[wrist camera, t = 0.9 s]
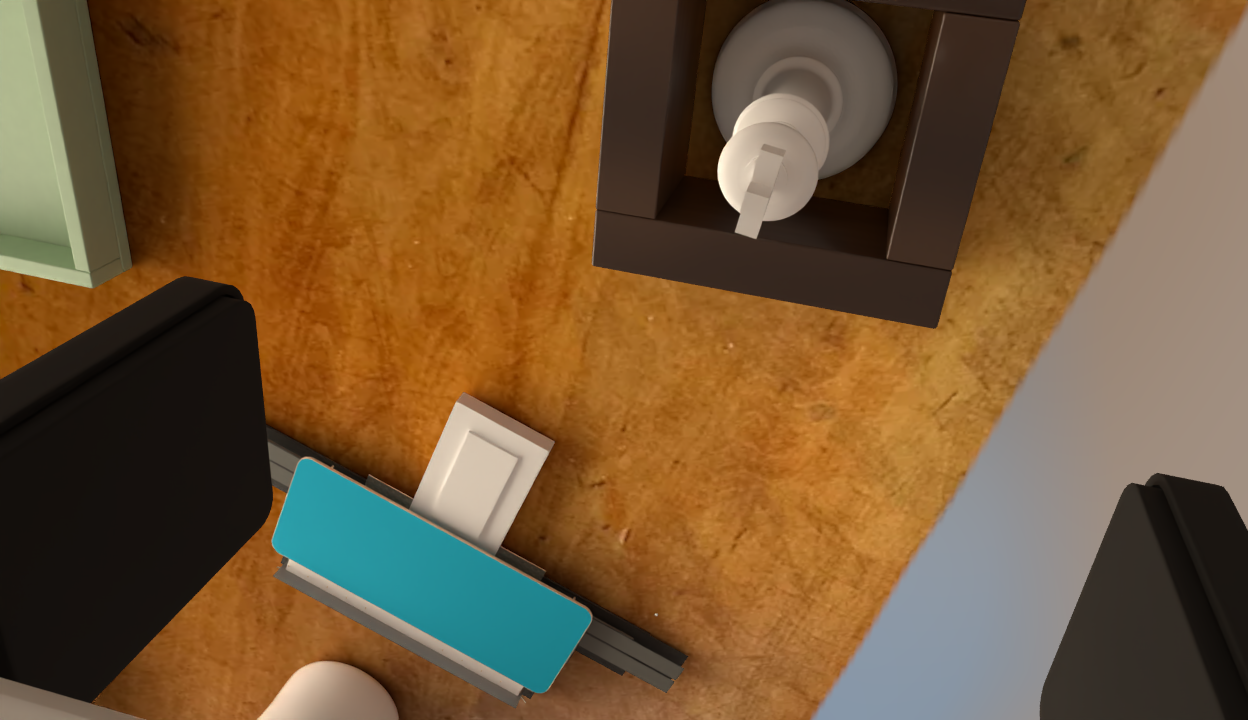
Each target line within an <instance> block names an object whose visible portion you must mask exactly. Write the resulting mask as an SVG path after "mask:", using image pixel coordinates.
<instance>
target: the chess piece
mask: <svg viewBox="0 0 1248 720" xmlns="http://www.w3.org/2000/svg"><path fill="white" fill-rule="evenodd" d="M897 84H898V81H897V69H896V63H895V59H894V56H893V52H892V50H891V47H890V45H889V43H888V41H887V39H886V37H885V35H884V34H883V32H882V31H881V29H880V28H879V27H878V25H877V24H876V23H875V22H874V21H873V20H872V19H871V18H870V17H869V16H868V15H867V14H866V13H865V12H863V11H862V10H861V9H859V8H858V7H856V6H855V5H853V4H851V3H850V2H847V1H845V0H770V1H767V2H765V3H764V4H762V5H760V6H758V7H757V8H755V9H754V10H752V11H751V12H750V13H748V14H747V15H746V16H745V17H744V18H743V19H742V20H741V21H740V22H739V23H738V24H737V25H736V26H735V27H734V28H733V30H732V31H731V32H730V34H729V35H728V37H727V38H726V40H725V42H724V43H723V45H722V47H721V50H720V52H719V54H718V57H717V60H716V63H715V67H714V72H713V80H712V106H713V112H714V116H715V119H716V122H717V125H718V128H719V130H720V132H721V134H722V136H723V138H724V139H725V141H726V143H727V144H726V145H725V147H724V149H723V151H722V153H721V156H720V159H719V163H718V181H719V185H720V188H721V191H722V193H723V195H724V197H725V198H726V200H727V201H728V202H729V204H730V205H731V206H732V207H733V208H734V209H736V210H737V211H738V212H739V213H740V217H739V220H738V223H737V226H736V229H735V233H739V234H742V235H745V236H748V237H751V238H754V239H756V238H757V236H758V233H759V230H760V227H761V224H762V221H776V220H781V219H784V218H787V217H789V216H791V215H793V214H795V213H796V212H798V211H799V210H801V209H802V208H803V207H804V206H805V205H806V204H807V202H808V201H809V200H810V198H811V197H812V195H813V193H814V191H815V188H816V185H817V181H818V180H820V179H824V178H827V177H830V176H833V175H836V174H838V173H840V172H842V171H844V170H846V169H847V168H849V167H851V166H852V165H854V164H855V163H856V162H858V161H859V160H860V159H861V158H862V157H864V156H865V155H866V154H867V153H868V152H869V151H870V149H871V148H872V147H873V146H874V145H875V143H876V142H877V141H878V140H879V138H880V137H881V135H882V134H883V132H884V130H885V129H886V127H887V125H888V123H889V120H890V118H891V115H892V113H893V110H894V106H895V102H896V96H897Z"/></svg>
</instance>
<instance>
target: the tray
mask: <svg viewBox="0 0 1248 720" xmlns="http://www.w3.org/2000/svg"><path fill="white" fill-rule="evenodd" d="M130 268H132V261H131V255H130V249H129V244H128V238H127V232H126V226H125V220H124V215H123V209H122V203H121V197H120V191H119V186H118V180H117V174H116V168H115V162H114V157H113V151H112V145H111V139H110V133H109V128H108V122H107V116H106V110H105V104H104V99H103V93H102V87H101V81H100V75H99V69H98V64H97V58H96V52H95V46H94V40H93V35H92V29H91V23H90V17H89V11H88V6H87V0H0V269H3V270H7V271H12V272H17V273H22V274H27V275H31V276H36V277H41V278H46V279H51V280H55V281H60V282H65V283H70V284H75V285H79V286H84V287H89V288H95V287H97V286H99V285H101V284H102V283H104V282H106V281H108V280H110V279H112V278H113V277H115V276H117V275H119V274H121V273H122V272H125V271H126V270H128V269H130Z"/></svg>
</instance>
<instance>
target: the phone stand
mask: <svg viewBox="0 0 1248 720" xmlns="http://www.w3.org/2000/svg"><path fill="white" fill-rule="evenodd" d="M266 430H267V440H268V450H269V460H270V470H271V480H272V485H273V486H274V487H276V488H278V489H280V490H282V491H284V492H285V493H287V496H286V499H285V502H284V505H283V508H282V511H281V514H280V516H279V519H278V522H277V525H276V528H275V531H274V534H273V537H272V545H273V547H274V549H275V550H276V551H277V552H278V553H279V554H281V555H283V558H282V561H281V563H282V564H283V565H282V566H281V567H277V568H280V569H279V570H278V571H277V572H276V573H275V575H274V577H275V578H277V579H279V580H281V581H283V582H285V583H286V584H288V585H290V586H292V587H294V588H296V589H297V590H299V591H301V592H303V593H305V594H307V595H308V596H310V597H312V598H314V599H316V600H318V601H319V602H321V603H323V604H325V605H327V606H329V607H330V608H332V609H334V610H336V611H338V612H340V613H341V614H343V615H345V616H347V617H349V618H351V619H352V620H354V621H356V622H358V623H360V624H362V625H363V626H365V627H367V628H369V629H371V630H373V631H375V632H376V633H378V634H380V635H382V636H384V637H386V638H387V639H389V640H391V641H393V642H395V643H397V644H398V645H400V646H402V647H404V648H406V649H408V650H409V651H411V652H413V653H415V654H417V655H419V656H420V657H422V658H424V659H426V660H428V661H430V662H431V663H433V664H435V665H437V666H439V667H441V668H442V669H444V670H446V671H448V672H450V673H452V674H453V675H455V676H457V677H459V678H461V679H463V680H464V681H466V682H468V683H470V684H472V685H474V686H475V687H477V688H479V689H481V690H483V691H485V692H486V693H488V694H490V695H492V696H494V697H496V698H497V699H499V700H501V701H503V702H505V703H507V704H508V705H510V706H512V707H514V708H516V707H517V704H518V702H519V700H520V698H522V695H524V696H526V697H528V698H530V699H531V697H532V695H533V694H534V692H535V693H544V692H546V691H548V689H549V688H550V686H551V685H552V683H553V682H554V680H555V679H556V677H557V675H558V674H559V672H560V671H561V669H562V668H563V666H564V664H567V662H568V661H569V659H570V657H571V656H572V654H573V653H574V651H577V652H579V653H581V654H583V655H585V656H586V657H588V658H590V659H592V660H594V661H596V662H597V663H599V664H601V665H603V666H605V667H607V668H609V669H610V670H612V671H614V672H616V673H618V674H620V675H621V676H622V675H623V674H624V672H625V671H627V672H629V673H631V674H632V675H634V676H636V677H638V678H640V679H642V680H643V681H645V682H647V683H649V684H651V685H653V686H654V687H656V688H658V689H660V690H662V691H664V692H665V693H667V691H668V690H669V689H670V687H671V686H672V685H673V683H674V681H672V680H671V679H672V678H673V679H674V680H676V679H677V678H678V677H679V675H680V674H681V673H682V671H683V670H684V668H682V667H681V666H682V664H683V663H684V662H685V660H686V659H687V658H688V656H687V655H685V654H683V653H681V652H679V651H678V650H676V649H674V648H672V647H670V646H668V645H667V644H665V643H663V642H661V641H659V640H657V639H656V638H654V637H652V636H650V633H648V632H646V631H644V630H642V629H641V628H639V627H637V626H635V625H633V624H631V623H630V622H628V621H626V620H624V619H622V618H620V617H619V616H617V615H615V614H613V613H611V612H609V611H608V610H606V609H604V608H602V607H600V606H598V605H597V604H595V603H593V602H591V601H589V600H587V599H586V598H584V597H582V596H580V595H578V594H576V593H575V592H573V591H571V590H569V589H567V588H565V587H564V586H562V585H560V584H558V583H556V582H554V581H553V580H551V579H549V578H547V577H545V576H544V574H545V572H546V570H544V569H542V568H540V567H538V566H537V565H535V564H533V563H531V562H529V561H527V560H526V559H524V558H522V557H520V556H518V555H516V554H515V553H513V552H511V551H509V550H507V549H505V548H504V547H502V546H501V544H502V542H503V540H504V538H505V536H506V534H507V532H508V530H509V529H510V527H511V525H512V523H513V521H514V519H515V517H516V515H517V513H518V511H519V510H520V508H521V506H522V504H523V502H524V500H525V498H526V496H527V494H528V492H529V491H530V489H531V487H532V485H533V483H534V481H535V479H536V477H537V475H538V473H539V472H540V470H541V468H542V466H543V464H544V462H545V460H546V458H547V456H548V454H549V452H550V451H551V449H552V447H553V445H554V443H555V441H553V440H551V439H549V438H547V437H546V436H544V435H542V434H540V433H538V432H536V431H534V430H533V429H531V428H529V427H527V426H525V425H523V424H522V423H520V422H518V421H516V420H514V419H512V418H511V417H509V416H507V415H505V414H503V413H501V412H500V411H498V410H496V409H494V408H492V407H490V406H489V405H487V404H485V403H483V402H481V401H479V400H478V399H476V398H474V397H472V396H470V395H468V394H467V393H465V392H463V394H462V395H461V396H460V397H459V399H458V400H457V401H456V403H455V405H454V408H453V410H452V412H451V415H450V417H449V419H448V421H447V424H446V426H445V428H444V430H443V433H442V435H441V437H440V440H439V442H438V444H437V446H436V449H435V451H434V453H433V456H432V458H431V460H430V462H429V465H428V467H427V469H426V472H425V474H424V476H423V478H422V481H421V483H420V485H419V487H418V490H417V492H416V494H415V497H414V498H412V497H410V496H408V495H406V494H404V493H403V492H401V491H399V490H397V489H395V488H393V487H392V486H390V485H388V484H386V483H384V482H382V481H381V480H379V479H377V478H375V477H373V476H371V475H370V474H369V475H368V478H367V479H365V478H363V477H362V476H360V475H358V474H356V473H354V472H352V471H351V470H349V469H347V468H345V467H343V466H341V465H340V464H338V463H336V462H334V461H332V460H330V459H329V458H327V457H325V456H323V455H321V454H319V453H318V452H316V451H314V450H312V449H310V448H308V447H307V446H305V445H303V444H301V443H299V442H297V441H296V440H294V439H292V438H290V437H288V436H286V435H284V434H283V433H281V432H279V431H277V430H275V429H273V428H272V427H270V426H268V425H266ZM334 599H335V600H334ZM331 603H332V604H331ZM655 616H658V614H656V613H655ZM522 700H523V701H524V702H525V700H524V699H523V698H522ZM525 703H526V702H525Z"/></svg>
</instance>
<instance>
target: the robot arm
mask: <svg viewBox="0 0 1248 720" xmlns="http://www.w3.org/2000/svg"><path fill="white" fill-rule="evenodd" d="M272 501H273V490H272V480H271V470H270V460H269V450H268V440H267V430H266V420H265V410H264V400H263V389H262V379H261V369H260V359H259V349H258V339H257V329H256V319H255V313H254V309H253V308H252V306H251V304H250V303H248V302H247V301H244V299H243V296H242V294H241V293H240V291H239V290H238V289H237V288H236V287H234V286H232V285H227V284H222V283H218V282H213V281H208V280H203V279H198V278H193V277H186V276H184V277H181V278H178V279H176V280H174V281H172V282H171V283H169V284H167V285H165V286H164V287H162V288H160V289H158V290H157V291H155V292H153V293H151V294H150V295H148V296H146V297H144V298H143V299H141V300H139V301H137V302H136V303H134V304H132V305H130V306H129V307H127V308H125V309H123V310H121V311H120V312H118V313H116V314H114V315H113V316H111V317H109V318H107V319H106V320H104V321H102V322H100V323H99V324H97V325H95V326H93V327H92V328H90V329H88V330H86V331H85V332H83V333H81V334H79V335H78V336H76V337H74V338H72V339H71V340H69V341H67V342H65V343H64V344H62V345H60V346H58V347H57V348H55V349H53V350H51V351H50V352H48V353H46V354H44V355H43V356H41V357H39V358H37V359H36V360H34V361H32V362H30V363H29V364H27V365H25V366H23V367H22V368H20V369H18V370H16V371H15V372H13V373H11V374H9V375H8V376H6V377H4V378H2V379H1V380H0V720H146V719H142V718H139V717H135V716H132V715H128V714H125V713H121V712H118V711H115V710H111V709H108V708H104V707H101V706H97V705H94V704H90V703H91V702H92V701H93V700H94V699H95V698H96V697H97V696H98V695H99V694H100V693H101V692H102V691H103V690H104V689H105V688H106V687H107V686H108V685H109V684H110V683H111V682H112V681H113V679H114V678H115V677H116V676H117V675H118V674H119V673H120V672H121V671H122V670H123V669H124V668H125V667H126V666H127V665H128V664H129V663H130V662H131V661H132V660H133V659H134V658H135V657H136V656H137V655H138V654H139V653H140V652H141V651H142V650H143V649H144V647H145V646H146V645H147V644H148V643H149V642H150V641H151V640H152V639H153V638H154V637H155V636H156V635H157V634H158V633H159V632H160V631H161V630H162V629H163V628H164V627H165V626H166V625H167V624H168V623H169V622H170V621H171V620H172V619H173V618H174V617H175V615H176V614H177V613H178V612H179V611H180V610H181V609H182V608H183V607H184V606H185V605H186V604H187V603H188V602H189V601H190V600H191V599H192V598H193V597H194V596H195V595H196V594H197V593H198V592H199V591H200V590H201V589H202V588H203V587H204V586H205V585H206V584H207V582H208V581H209V580H210V579H211V578H212V577H213V576H214V575H215V574H216V573H217V572H218V571H219V570H220V569H221V568H222V567H223V566H224V565H225V564H226V563H227V562H228V561H229V560H230V559H231V558H232V557H233V556H234V555H235V554H236V553H237V552H238V550H239V549H240V548H241V547H242V546H243V545H244V544H245V543H246V542H247V541H248V540H249V539H250V538H251V537H252V536H253V535H254V534H255V533H256V532H257V531H258V530H259V529H260V528H261V527H262V525H263V524H264V523H265V521H266V519H267V517H268V515H269V513H270V510H271V507H272ZM1040 720H1248V530H1247V529H1246V526H1245V524H1244V522H1243V520H1242V519H1241V517H1240V515H1239V513H1238V511H1237V509H1236V507H1235V505H1234V503H1233V501H1232V499H1231V497H1230V495H1229V494H1228V492H1227V491H1226V490H1225V488H1224V487H1222V486H1219V485H1215V484H1210V483H1205V482H1200V481H1194V480H1189V479H1185V478H1180V477H1175V476H1170V475H1165V474H1160V473H1156V474H1154V475H1153V476H1151V477H1150V479H1149V480H1148V481H1147V482H1146V484H1145V486H1144V485H1139V484H1135V483H1131V484H1129V485H1127V487H1126V488H1125V489H1124V491H1123V493H1122V495H1121V497H1120V499H1119V502H1118V504H1117V507H1116V509H1115V512H1114V514H1113V516H1112V519H1111V521H1110V524H1109V526H1108V528H1107V531H1106V533H1105V536H1104V538H1103V541H1102V543H1101V546H1100V548H1099V551H1098V553H1097V555H1096V558H1095V561H1094V563H1093V565H1092V568H1091V570H1090V573H1089V575H1088V577H1087V580H1086V582H1085V585H1084V587H1083V590H1082V592H1081V595H1080V597H1079V599H1078V602H1077V604H1076V607H1075V609H1074V612H1073V614H1072V617H1071V619H1070V622H1069V624H1068V626H1067V629H1066V632H1065V634H1064V636H1063V639H1062V641H1061V644H1060V646H1059V649H1058V651H1057V653H1056V656H1055V658H1054V661H1053V663H1052V666H1051V668H1050V671H1049V673H1048V675H1047V678H1046V680H1045V683H1044V686H1043V690H1042V695H1041V702H1040Z"/></svg>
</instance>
